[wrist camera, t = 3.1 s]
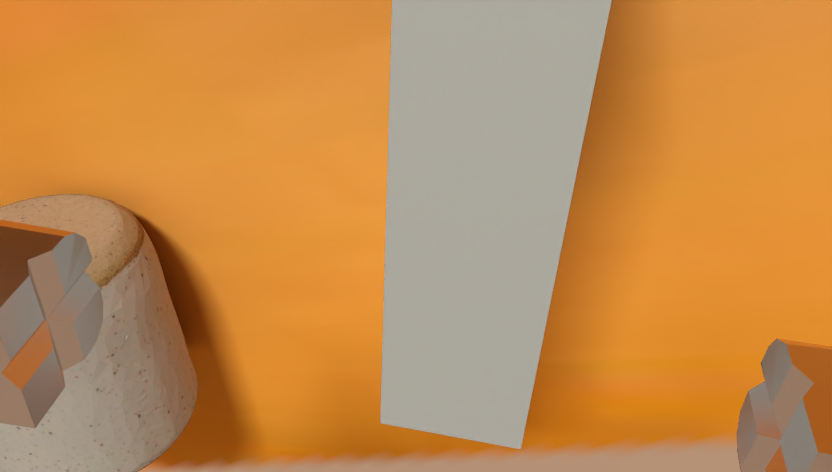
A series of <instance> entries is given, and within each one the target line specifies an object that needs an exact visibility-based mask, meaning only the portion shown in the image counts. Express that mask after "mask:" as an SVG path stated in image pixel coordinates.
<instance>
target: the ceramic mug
mask: <svg viewBox="0 0 832 472" xmlns="http://www.w3.org/2000/svg"><path fill="white" fill-rule="evenodd" d="M0 220H7V221H13V222H18V223H24V224H30V225H35V226H41V227H47V228H52V229H58V230H64V231H70V232H75V233H77V234H79V235H81V236H83V237H84V238H86V240H87V243H88V247H89V250H90V253H91V256H92V259H93V260H92V261H91V263H90V264H89V266H88V267H87V269H86V270H85V273H86V274H87V275H88V276H89V277H90V278H91V279H92V280H93V281H94V282H95V283H96V284H97V285H98V286H99V287H100V291H101V295H102V299H103V323H102V326H101V329H100V332H99V335H98V338H97V341H96V343H95V345H94V346H93V348H92V349H91V351H90V352H89V354H88V355H87V357H86V358H85V360H83V361H81V362H79V363H78V364H76V365H74V366H72V367H70V368H68V369H66V370H64V371H63V374H64V381H65V388H64V389H63V391H62V392H61V393H60V395H59V396H58V398H57V399H56V400H55V402H54V403H53V405H52V406H51V407H50V409H49V410H48V412H47V413H46V414H45V416H44V417H43V419H42V420H41V421H40V423H39V424H38V426H37V427H36V428H29V427H22V426H16V425H9V424H3V423H0V472H138V471H140V470H142V469H143V468H145V467H146V466H148V465H149V464H151V463H152V462H153V461H155V460H156V459H157V458H158V457H160V456H161V455H162V454H163V453H164V452H165V451H166V450H167V449H168V448H169V447H170V446H171V445H172V444H173V443H174V442H175V440H176V439H177V438H178V437H179V436H180V435H181V433H182V432H183V430H184V428H185V427H186V425H187V424H188V422H189V420H190V418H191V416H192V413H193V410H194V408H195V405H196V401H197V393H198V382H197V376H196V371H195V368H194V366H193V363H192V360H191V358H190V355H189V352H188V348H187V345H186V342H185V338H184V335H183V332H182V329H181V326H180V323H179V320H178V317H177V314H176V311H175V309H174V306H173V303H172V301H171V298H170V295H169V292H168V289H167V285H166V282H165V278H164V274H163V271H162V267H161V264H160V261H159V259H158V256H157V253H156V251H155V249H154V246H153V244H152V242H151V240H150V238H149V236H148V235H147V233H146V231H145V229H144V228H143V226H142V225H141V224H140V222H139V221H138V220H137V218H136V217H135V216H134V215H133V214H132V213H131V211H130V210H128V209H126V208H124V207H122V206H120V205H119V204H117V203H115V202H113V201H111V200H107V199H103V198H99V197H95V196H90V195H83V194H60V195H48V196H40V197H35V198H31V199H27V200H22V201H18V202H15V203H12V204H9V205H6V206H3V207H0Z"/></svg>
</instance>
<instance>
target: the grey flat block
mask: <svg viewBox="0 0 832 472" xmlns="http://www.w3.org/2000/svg"><path fill="white" fill-rule="evenodd" d="M611 2H612V0H392V29H391V65H390V100H389V136H388V171H387V207H386V243H385V278H384V314H383V349H382V385H381V420H380V423H382V424H388V425H393V426H398V427H404V428H409V429H414V430H420V431H425V432H431V433H436V434H441V435H447V436H452V437H458V438H463V439H468V440H474V441H479V442H484V443H490V444H495V445H501V446H506V447H511V448H517V449H521V446H522V441H523V436H524V431H525V426H526V421H527V416H528V411H529V406H530V401H531V396H532V391H533V386H534V381H535V377H536V372H537V367H538V362H539V357H540V352H541V347H542V342H543V337H544V332H545V327H546V322H547V317H548V312H549V307H550V303H551V298H552V293H553V288H554V283H555V278H556V273H557V268H558V263H559V258H560V253H561V248H562V243H563V238H564V233H565V229H566V224H567V219H568V214H569V209H570V204H571V199H572V194H573V189H574V184H575V179H576V174H577V169H578V164H579V159H580V155H581V150H582V145H583V140H584V135H585V130H586V125H587V120H588V115H589V110H590V105H591V100H592V95H593V90H594V85H595V81H596V76H597V71H598V66H599V61H600V56H601V51H602V46H603V41H604V36H605V31H606V26H607V21H608V16H609V11H610V7H611Z"/></svg>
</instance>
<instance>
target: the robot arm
mask: <svg viewBox="0 0 832 472" xmlns="http://www.w3.org/2000/svg"><path fill="white" fill-rule="evenodd" d="M92 260H93V259H92V256H91V253H90V250H89V247H88V243H87V240H86V238H84V237H83V236H81V235H79V234H77V233H75V232H70V231H64V230H58V229H52V228H47V227H41V226H35V225H30V224H24V223H18V222H13V221H7V220H0V423H3V424H9V425H16V426H22V427H29V428H36V427H37V426H38V424H39V423H40V421H41V420H42V419H43V417H44V416H45V414H46V413H47V412H48V410H49V409H50V407H51V406H52V405H53V403H54V402H55V400H56V399H57V398H58V396H59V395H60V393H61V392H62V391H63V389H64V388H65V381H64V374H63V371H64V370H66V369H68V368H70V367H72V366H74V365H76V364H78V363H79V362H81V361H83V360H85V358H86V357H87V355H88V354H89V352H90V351H91V349H92V348H93V346H94V345H95V343H96V341H97V338H98V335H99V332H100V329H101V326H102V323H103V299H102V295H101V291H100V287H99V286H98V285H97V284H96V283H95V282H94V281H93V280H92V279H91V278H90V277H89V276H88V275H87V274H86V273H85V270H86V269H87V267H88V266H89V264H90V263H91V261H92ZM761 366H762V370H763V374H764V379H765V382H763V383H761V384H759V385H758V386H756V387H754V388H752V389H751V390H749V391H748V393H747V396H746V398H745V401H744V403H743V406H742V409H741V411H740V417H739V423H738V430H737V452H738V459H739V464H740V470H741V472H832V347H831V346H824V345H818V344H811V343H804V342H797V341H790V340H783V339H776V340H775V341H774V342H773V343H772V344H771V345H770V346H769V347H768V349H767V351H766V354H765V356H764V358H763V360H762V362H761Z"/></svg>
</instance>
